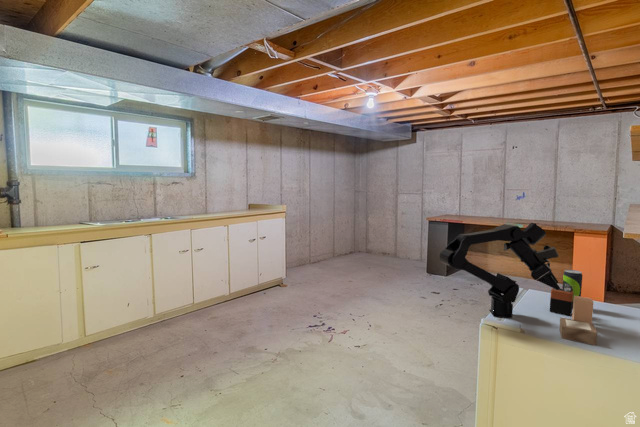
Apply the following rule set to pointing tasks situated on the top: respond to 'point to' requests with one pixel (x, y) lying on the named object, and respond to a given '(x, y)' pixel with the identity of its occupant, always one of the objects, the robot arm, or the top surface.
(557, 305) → the battery
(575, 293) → the beverage can
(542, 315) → the top surface
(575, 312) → the pillar block
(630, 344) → the top surface
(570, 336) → the foundation block
